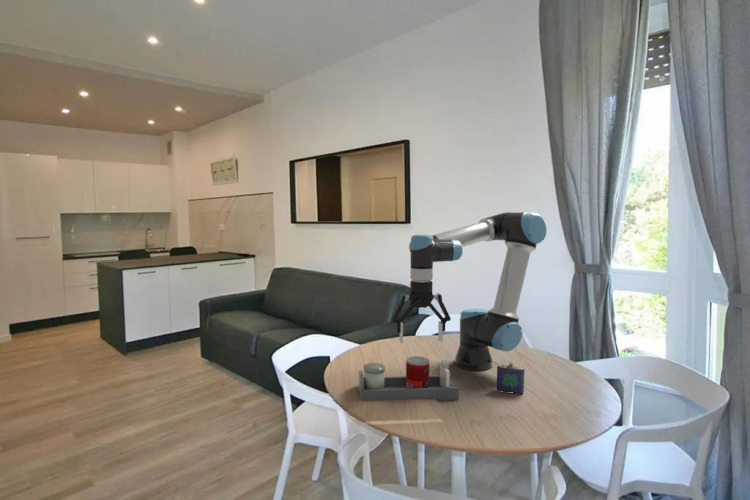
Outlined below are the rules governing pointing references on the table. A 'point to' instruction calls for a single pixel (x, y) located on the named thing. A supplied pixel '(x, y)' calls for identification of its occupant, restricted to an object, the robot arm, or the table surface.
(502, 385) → the flask
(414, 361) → the canned food
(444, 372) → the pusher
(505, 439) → the table surface
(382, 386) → the green jar
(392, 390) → the lane
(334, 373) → the table surface
